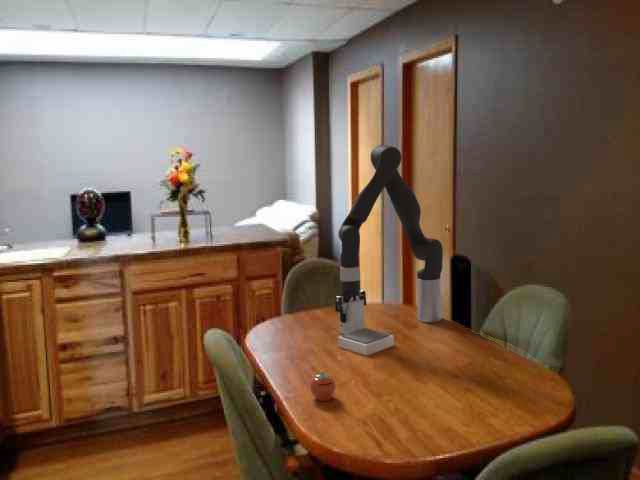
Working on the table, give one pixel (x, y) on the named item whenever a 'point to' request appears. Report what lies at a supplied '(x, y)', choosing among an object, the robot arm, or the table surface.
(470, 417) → the table surface
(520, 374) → the table surface
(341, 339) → the stack base
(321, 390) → the tomato
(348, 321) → the small box
